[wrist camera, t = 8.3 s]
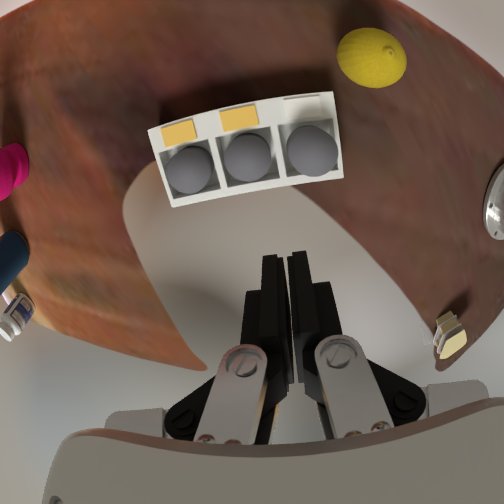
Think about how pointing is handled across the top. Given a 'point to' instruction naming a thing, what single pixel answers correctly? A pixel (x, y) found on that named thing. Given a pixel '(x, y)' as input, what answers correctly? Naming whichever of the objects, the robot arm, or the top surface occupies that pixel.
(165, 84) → the top surface
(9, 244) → the soda can
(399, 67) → the lemon
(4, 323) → the pill bottle
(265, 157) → the middle button
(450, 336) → the stacked layers on plate
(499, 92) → the top surface
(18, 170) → the pepper mill
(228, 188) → the button board
